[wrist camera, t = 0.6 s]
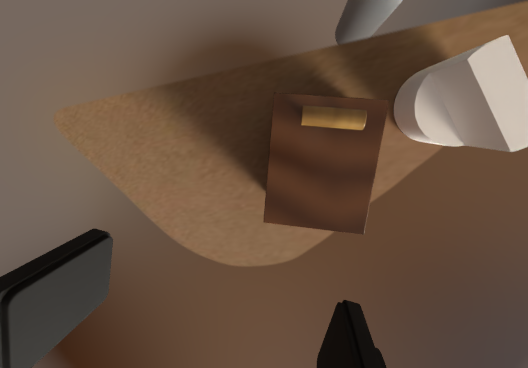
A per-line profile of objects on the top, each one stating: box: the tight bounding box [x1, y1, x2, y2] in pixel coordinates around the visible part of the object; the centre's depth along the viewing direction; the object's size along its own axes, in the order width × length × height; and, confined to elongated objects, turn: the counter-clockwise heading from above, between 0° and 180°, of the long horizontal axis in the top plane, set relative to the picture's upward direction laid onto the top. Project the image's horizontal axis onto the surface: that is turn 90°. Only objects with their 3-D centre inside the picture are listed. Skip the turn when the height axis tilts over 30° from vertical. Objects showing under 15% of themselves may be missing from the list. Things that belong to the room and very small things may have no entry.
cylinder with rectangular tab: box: [394, 35, 528, 152], centre depth 26 cm, size 9×9×12 cm
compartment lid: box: [264, 93, 389, 234], centre depth 24 cm, size 13×11×5 cm
